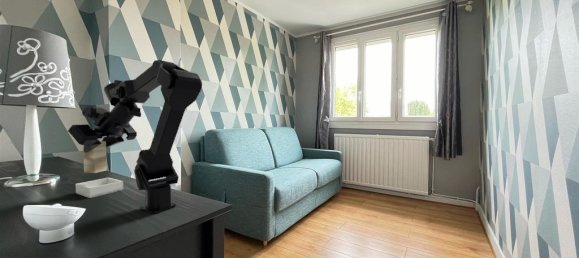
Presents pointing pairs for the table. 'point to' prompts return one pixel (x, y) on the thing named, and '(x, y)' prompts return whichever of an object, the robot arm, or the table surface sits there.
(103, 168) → the birch block
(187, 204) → the table surface
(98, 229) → the table surface
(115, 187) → the tray
